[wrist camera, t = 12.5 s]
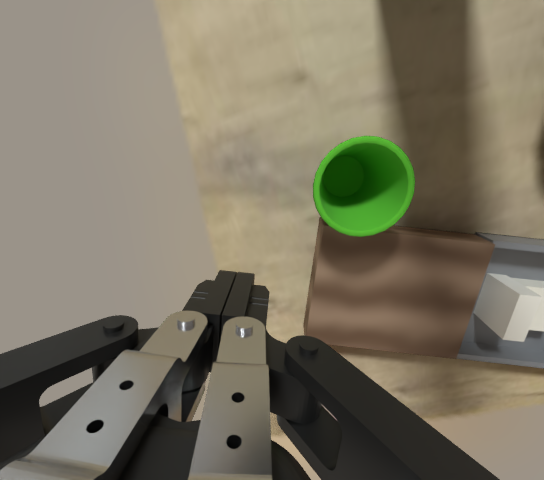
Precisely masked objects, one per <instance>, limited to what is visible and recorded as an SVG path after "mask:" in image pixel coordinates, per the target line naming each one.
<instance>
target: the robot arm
mask: <svg viewBox="0 0 544 480" xmlns="http://www.w3.org/2000/svg"><path fill="white" fill-rule="evenodd" d="M268 301H269V291H268V290H267V288H266V287H265V286H260V285H254V274H251V273H242V272H238V273H237V272H232V271H222V270H220V271H219V273H218V275H217V277H216V279H215V281H211V280H206V281H204V282H202V283H200V284H199V285H198V286H197V287H196V289H195V291H194V292H193V294H192V296H191V298H190V299H189V301H188V302H187V304H186V305H185V307H184V309H183V310H182V311H180V312H176V313H174V314H171V315H170V316H168V318H166V320H165V321H164V322H163V323H162V324H161V326H160V327H158V328H151V329H140V330H138V322H137V321H136V320H135V319H134V318H132V317H129V316H122V315H119V316H111V317H107V318H103V319H101V320H98V321H95V322H92V323H89V324H86V325H83V326H80V327H78V328H74V329H72V330H69V331H66V332H63V333H60V334H57V335H54V336H51V337H49V338H46V339H43V340H40V341H37V342H34V343H31V344H29V345H26V346H23V347H20V348H17V349H14V350H11V351H8V352H5V353H2V354H0V480H311V479H310V478H309V476H308V475H307V474H306V472H305V471H304V470H303V468H302V467H301V465H300V464H299V463H298V461H297V460H296V459H295V458H294V457H293V456H292V455H291V454H290V453H289V452H288V451H287V450H286V449H284V448H283V447H282V446H280V445H279V444H277V443H276V442H274V441H272V440H271V428H270V412H271V413H274V414H276V415H277V422H278V424H279V426H280V428H281V429H282V430H283V431H284V433H285V434H286V435H287V437H288V438H289V439H290V440H291V442H292V443H293V444H294V445H295V447H296V448H297V449H298V450H299V452H300V453H301V454H302V456H303V457H304V458H305V459H306V461H307V462H308V463H309V464H310V466H311V467H312V468H313V470H314V471H315V472H316V473H317V475H318V476H319V477H320V478H321V480H499V479H498V478H497V477H496V476H494V475H493V474H492V473H491V472H489V471H488V470H487V469H485V468H484V467H483V466H481V465H480V464H479V463H478V462H476V461H475V460H474V459H473V458H471V457H470V456H469V455H468V454H466V453H465V452H464V451H462V450H461V449H460V448H458V447H457V446H456V445H455V444H453V443H452V442H451V441H450V440H448V439H447V438H446V437H445V436H443V435H442V434H440V433H439V432H438V431H437V430H436V429H434V428H433V427H432V426H430V425H429V424H428V423H427V422H425V421H424V420H423V419H421V418H420V417H419V416H418V415H416V414H415V413H414V412H413V411H411V410H410V409H409V408H407V407H406V406H405V405H404V404H402V403H401V402H400V401H398V400H397V399H396V398H395V397H393V396H392V395H391V394H390V393H388V392H387V391H386V390H384V389H383V388H382V387H381V386H379V385H378V384H377V383H375V382H374V381H373V380H372V379H370V378H369V377H368V376H367V375H365V374H364V373H363V372H361V371H360V370H359V369H358V368H356V367H355V366H354V365H352V364H351V363H350V362H349V361H347V360H346V359H345V358H343V357H342V356H341V355H340V354H338V353H337V352H336V351H335V350H333V349H332V348H331V347H329V346H328V345H327V344H326V343H324V342H323V341H321V340H319V339H317V338H315V337H311V336H296V337H293V338H291V339H290V340H289V341H288V342H287V343H283V342H281V341H278V340H276V339H274V338H273V337H271V336H270V335H269V333H268V332H267V330H266V320H267V310H268ZM89 368H92V373H93V383H91V384H89V385H87V386H85V387H83V388H80V389H78V390H76V391H74V392H72V393H70V394H68V395H66V396H64V397H62V398H60V399H58V400H56V401H53V402H52V403H49V404H47V405H45V406H43V407H40V406H39V399H40V396H41V395H42V393H43V392H44V391H45V390H46V389H47V388H48V387H50V386H52V385H54V384H56V383H58V382H60V381H62V380H65V379H67V378H69V377H71V376H74V375H76V374H78V373H80V372H83V371H85V370H87V369H89ZM209 372H211V375H210V380H209V385H208V389H207V394H206V398H205V403H204V408H203V412H202V418H201V420H197V421H192V419H193V417H194V414H195V412H196V410H197V407H198V405H199V403H200V400H201V398H202V395H203V393H204V391H205V381H206V379H207V376H208V373H209ZM322 405H323V406H324V407H325V408H326V409H327V410H328V411H329V412H330V413H331V414H332V415H333V416H334V417H335V418H336V419H337V420H336V419H335V418H334V417H333V416H332V415H331V414H330V413H329V412H328V411H327V410H326V409H325V408H324V407H323V406H322Z"/></svg>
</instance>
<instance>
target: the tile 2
mask: <svg viewBox="0 0 544 480" xmlns="http://www.w3.org/2000/svg"><path fill="white" fill-rule="evenodd" d="M512 279H514V280H515V281H517V282H519V283H520V284H522V285H524V286H525V287H527V288H528V289H530V290H532V291H533V292H535V293H537V294H538V295H540V296H542V299H541V302H540V304H539V306H538V309H537V311H536V314H535V316H534V319H533V321H532V323H531V326H530V328H529V330H534V331H544V281H538V280H529V279H519V278H512Z"/></svg>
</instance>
